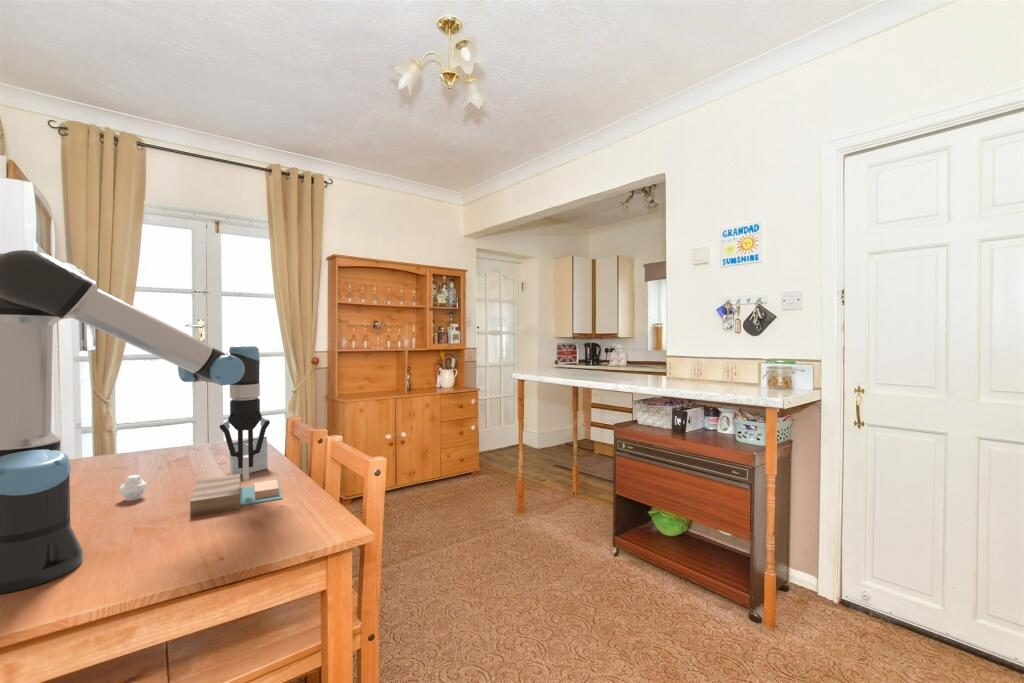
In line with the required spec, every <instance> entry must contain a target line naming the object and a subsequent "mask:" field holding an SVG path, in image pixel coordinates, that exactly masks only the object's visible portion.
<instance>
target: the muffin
mask: <svg viewBox="0 0 1024 683" xmlns="http://www.w3.org/2000/svg"><path fill="white" fill-rule="evenodd" d="M147 486H148V483H147V482H146V481H145V480H143V479H142V477H141V476H140V475H139V474H132V475H129V476H127V477H125V481H124V482H123V484H122V485H120V486H119V489H118V490H119V492H120V495H121V496H122V497H123V498H124V499H125V501H127V502H130V501H136V500H140V499H141V498H142V496H143V494H144V493H145V491H146V488H147Z"/></svg>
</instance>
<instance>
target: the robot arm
mask: <svg viewBox="0 0 1024 683" xmlns="http://www.w3.org/2000/svg"><path fill="white" fill-rule="evenodd" d="M66 319H74V320H76V321H78V322H81V323H82V324H85V325H87V326H90V327H91V328H93V329H96V330H98V331H101V332H102V333H105V334H107V335H109V336H111V337H114V338H115V339H118V340H121V341H123V342H125V343H127V344H129V345H132V346H133V347H135V348H138V349H140V350H142V351H144V352H147V353H148V354H151V355H154V356H155V357H157V358H159V359H162V360H164V361H167V362H168V363H170V364H173V365H175V366H177V371H178V376H179V379H180V380H181V381H182V382H183V383H197V382H198V383H199V382H206V383H212V384H216V385H219V386H229V398H230V399H231V400H230V401H229V416H228V419H227V420H226V421H225V422H222V423H221V422H220V425H219V429H220V430H221V431H222V432H223V434H224V437H225V441H226V444H227V448H228V452H229V455H230V454H231V456H235V457H237V458H238V468H239V469H240V468H243V475H242V481H248V480H249V478H250V475H249V474H250V473H249V467H253V456H254V455H255V454H258V453H260V450H261V446H262V442H263V439H264V437H265V434H266V430H267V428H268V427H269V425H270V424H271V421H270V420H269V419H266V418H264V417H263V415H262V413H261V402H260V401H261V399H260V398H259V397H260V396H261V389H260V388H261V384H260V362H261V359H260V350H259V348H258V347H257V346H256V345H231V346H230V347H229V350H228V352H222V351H221V350H220V349H217V348H215V347H212V346H211V345H209V344H208V343H205V342H203V341H201V340H199V339H197V338H196V337H193V336H192V335H189V334H188V333H185V332H183V331H181V330H180V329H178V328H176V327H174V326H172V325H170V324H168V323H166V322H165V321H163V320H160V319H159V318H156V317H155V316H152V315H150V314H149V313H147V312H144V311H143V310H140V308H139V309H138V308H136V307H134V306H132V305H131V304H128V303H127V302H125V301H123V300H122V299H119V298H117V297H115V296H113V295H111V294H109V293H107V292H105V291H103V290H101V289H100V288H99V287H98V285H97V282H96V281H95V280H93V279H91V278H89V277H88V276H86V275H84V274H82V273H80V272H79V271H77V270H75V269H73V268H71V267H70V266H68V265H67V264H64V263H63V262H61V261H60V260H58V259H56V258H55V257H52V256H51V255H49V254H46V253H43V252H40V251H36V250H28V249H25V250H24V249H22V250H21V249H19V250H13V251H8V252H6V253H3V254H0V594H5V593H11V592H16V591H22V590H24V589H29V588H32V587H35V586H38V585H42V584H45V583H48V582H50V581H53V580H55V579H58V578H60V577H63V576H65V575H66V574H68V573H70V572H72V571H74V570H75V569H77V568H78V567H80V565H81V564H82V563H83V560H84V558H83V556H84V555H83V551H84V550H83V548H82V546H81V543H80V542H79V540H78V538H77V536H76V534H75V532H74V530H73V528H72V526H71V485H70V482H71V481H70V479H71V478H70V473H71V471H72V467H71V466H72V465H71V463H70V459H69V456H68V455H67V454H66V453H65V452H63V451H61V438H60V437H59V436H58V435H55V434H54V432H52V404H53V402H52V401H53V400H52V395H53V387H52V386H53V384H52V383H53V342H54V340H53V339H54V337H53V336H54V326H55V324H57V323H58V322H60V321H62V320H66ZM259 423H260V426H261V427H260V430H259V434H258V441H257V445H256V449H254V450H253V444H254V443H253V439H254V429H255V428H256V427H257V425H258V424H259ZM230 425H231V426H232V427H233V429H235V430H236V431H237V442H238V452H237V451H235V448H234V445H233V443H234V441H233V438H232V435H231V432H230V430H229V429H230ZM243 431H247V437H248V438H247V440H248V444H247V445H248V455H245V456H243V441H244V440H243V438H244V436H243V434H244V433H243Z"/></svg>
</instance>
